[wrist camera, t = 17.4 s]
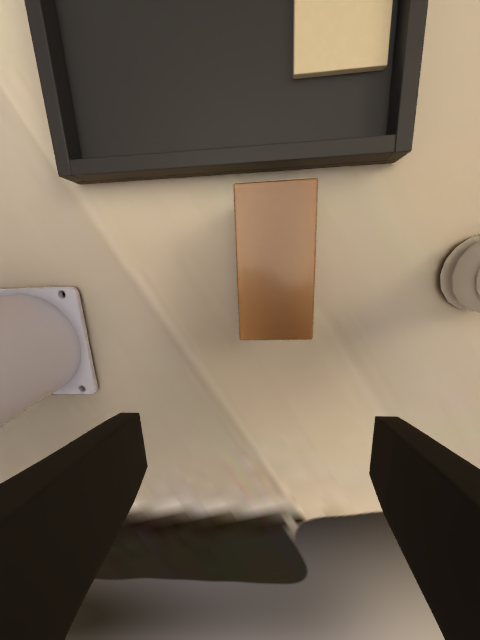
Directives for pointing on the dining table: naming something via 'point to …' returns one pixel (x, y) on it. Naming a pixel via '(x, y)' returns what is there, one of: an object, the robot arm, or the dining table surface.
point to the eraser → (276, 258)
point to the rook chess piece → (463, 275)
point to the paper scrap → (340, 36)
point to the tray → (211, 90)
